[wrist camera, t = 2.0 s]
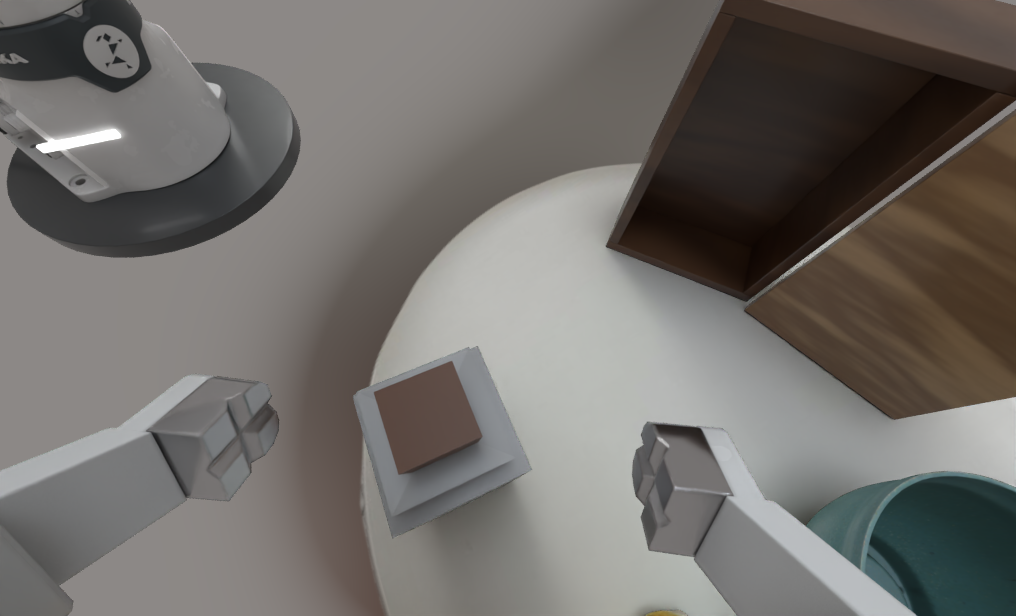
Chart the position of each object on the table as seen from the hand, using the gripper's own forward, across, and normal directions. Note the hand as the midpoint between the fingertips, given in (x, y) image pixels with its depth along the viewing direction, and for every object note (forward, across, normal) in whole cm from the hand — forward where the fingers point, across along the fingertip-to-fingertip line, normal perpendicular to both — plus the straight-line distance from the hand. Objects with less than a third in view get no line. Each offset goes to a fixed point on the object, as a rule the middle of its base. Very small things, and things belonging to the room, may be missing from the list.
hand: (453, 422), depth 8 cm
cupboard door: (+27, -31, +12) cm, 43 cm away
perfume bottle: (+15, +3, +19) cm, 25 cm away
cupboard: (+34, -18, +7) cm, 39 cm away
